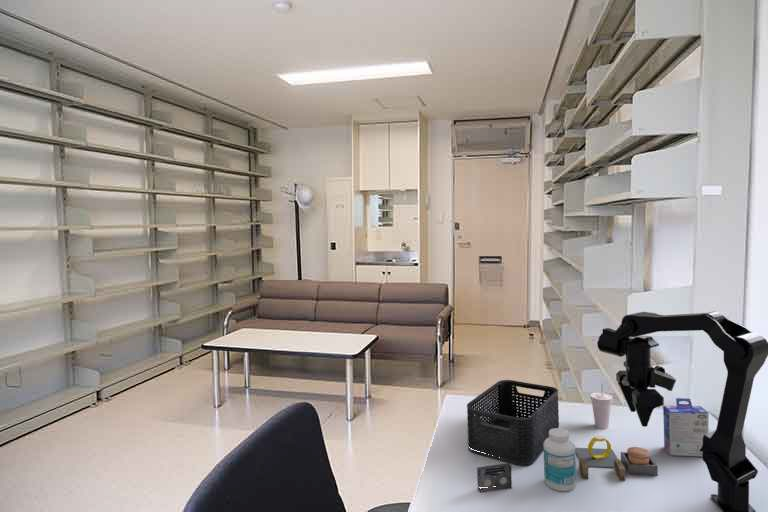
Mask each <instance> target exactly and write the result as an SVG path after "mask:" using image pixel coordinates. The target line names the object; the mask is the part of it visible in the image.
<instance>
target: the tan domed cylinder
mask: <svg viewBox="0 0 768 512" xmlns="http://www.w3.org/2000/svg"><path fill="white" fill-rule="evenodd" d="M626 452H627V453H628V461H629V463H630V464H644V465H649V457H650V456H651V453H650V451H649V450H648V449H646V448H643V447H639V446H631V447H628V448H627V450H626Z"/></svg>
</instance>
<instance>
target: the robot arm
mask: <svg viewBox="0 0 768 512" xmlns="http://www.w3.org/2000/svg"><path fill="white" fill-rule="evenodd" d="M687 331H689V332H690V331H694V332H695V331H703V332H704V333H705V334H707V335H708V337H709V338H710V340H711V341H712V343H713V344H714V346H716V347H717V348H718V349H719V350H721V351H722V352H723V363H724V366H725V369H726V370H727V376H726V380H725V385H724V390H723V396H722V400H721V404H720V410H719V415H718V418H717V424H716V429H714V430H713V431H710V432H708V434H705V435H704V436H703V445H702V448H701V449H700V451H701V452H703V453H702V456H701V458H702V461H703V462H704V463H705V465H706V467H707V470H708V473H709V476H710V479H711V481H713V482H716V483H717V494H716V493H715V494H713V493H712V494H710V498H711V499H712V500H713V501H714V502H715V504H716V505H717V506H718V507H719V508H720V510H721V511H722V512H757V511H756V510H755V508H754V507H753V506H752V505H751V504H750V480H752V479H753V480H754V479H755V478H757V475H758V473H759V470H758V469H757V467H755V466H754V464H753V462H751V461H750V459H749V458H748V457H747V456H746V455H747V453H746V452H747V451H746V448H747V447H746V443H745V441H744V438H743V430H744V425H745V420H746V417H747V411H748V407H749V404H750V398H751V393H752V388H753V384H754V381H755V380H754V379H755V377H756V375H757V374H758V373H759V371H760V370H761V368H762V367H763V366H764V364H765V362H766V360H767V358H768V340H767V339H766V338H765V337H764V336H762V335H761V334H759V333H756V332H753V331H751V330H750V329H749V328H748V327H746V326H744V325H742V324H741V323H739V322H736V321H734V320H732V319H729V317H727V316H725V315H724V314H723V313H721V312H719V311H715V310H714V311H709V312H699V313H698V312H697V313H681V314H667V315H665V314H658V313H655V312H650V311H649V312H647V311H641V312H636V313H630V314H626V315H624V316H623V317H622V319H621V323H620V325H619V326H618V328H617V329H613V328H609V327H604V328H602V333H601V334H600V335H599V337H598V340H597V341H596V342H597V349H598V350H599V351H600V352H602V353H605V354H608V355H613V356H617V357H621V358H622V357H624V356H625V361H623V366H624V367H625V370H618V372H616V373H615V381H616V382H617V385H618V387H619V389H620V391H621V392H622V395H623V397H624V400H625V402H626V404H627V406H628V408H629V410H630V412H631V413H636V414H637V418H638V420H639V422H640V425H641V427H644V428H646V427H648V425H649V422H650V419H651V416H652V415H653V414H652V413H653V412H654V410H655V409H656V408H660V407H663V406H665V404H664V403H665V401H664V400H665V399H664V398H665V397H664V396H663V395H662V394H661V393H660V392H659V391H658V390H656V387H660V388H663V389H666V390H667V391H668V392H669V391H670V392H672V391H673V388H674V387H675V385H676V381H677V379H676V378H675V377H674V376H672V375H671V374H670V373H668V372H666V370H665V369H666V368H664V367H663V366H661V365H656V366H654V367H653V366H652V365H651V360H652V359H651V348H656V347H659V346H660V343H659V342H658V341H656V340H655V339H654V337H653V336H648V337H645V338H644V337H641V336H644V335H645V336H646V335H649V334H654V333H657V332H659V333H660V332H687Z"/></svg>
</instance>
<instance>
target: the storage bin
mask: <svg viewBox="0 0 768 512" xmlns="http://www.w3.org/2000/svg"><path fill="white" fill-rule="evenodd" d="M518 387H519V388H523V389H529V390H536V391H543V396H541V395H533V394H531V393H530V394H528V393H523V392H519V390H518ZM466 409H467V410H466V412H467V416H466V417H467V418H466V419H467V441H468V442H467V443H468V445H469V447H470V448H472V449H474V450H477V451H480V452H477V451H474V450H471V449H470V448H469V447H468V445H467V447H468V450H469V451H470V452H472V453H475V454H477V455H479V456H480V455H481V456H484V457H489V458H492V459H495V460H500V461H504V462H506V463H507V462H508V463H509V464H510V463H511V464H515V465H520V466H521V465H522V466H528V465H532V464H533V463H535V462H536V460H537V459H538V458H539V457H540V455H542V453H544V441H545V440H546V439H547V438H549V430H551V429H554V428H560V426H559V425H560V421H559V420H560V417H559V416H560V415H559V411H560V410H559V390H558V389H557V388H556V387H554V386H549V385H543V384H537V383H530V382H523V381H518V380H513V379H504V380H503V379H502V380H498V381H497V382H496V383H494V384H493V385H491V386H490V387H488V388H487V389H485V391H483V392H482V393H480V394H479V395H478V396H476V397H475V398H473V399H472V400H471V401H469V402H468V403H467V404H466ZM481 452H484V453H486V454H484V453H481ZM488 454H489V455H488ZM492 455H493V456H492ZM499 457H500V458H499Z"/></svg>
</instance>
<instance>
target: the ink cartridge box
mask: <svg viewBox="0 0 768 512" xmlns="http://www.w3.org/2000/svg"><path fill="white" fill-rule="evenodd" d="M675 401H676V405H663V406H662V412H663V414H662V415H663V417H662V418H663V439H664V440H663V447H664V448H663V449H665V451H666V452H667V455H669V456H680V457H681V456H685V457H702V453H703V452H701V451H700V449H701V448H702V445H703V436H704V435H705V434H708V433H709V412H708V411H707V410H706V409H705V408H704V407H702V406H701V405H692V401H691V398H686V397H685V398H682V397H681V398H680V397H679V398H677V397H676V398H675ZM680 402H686V403H687V404H686V403H680Z"/></svg>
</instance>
